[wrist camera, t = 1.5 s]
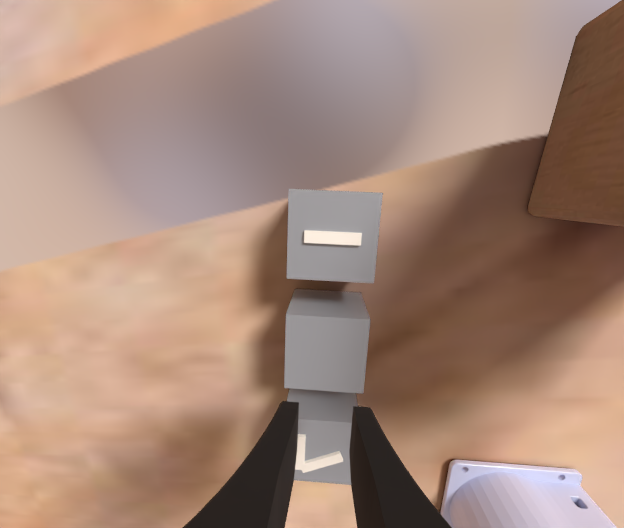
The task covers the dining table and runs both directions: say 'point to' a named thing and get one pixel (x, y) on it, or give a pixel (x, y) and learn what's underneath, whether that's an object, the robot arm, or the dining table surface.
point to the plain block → (326, 341)
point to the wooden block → (587, 131)
